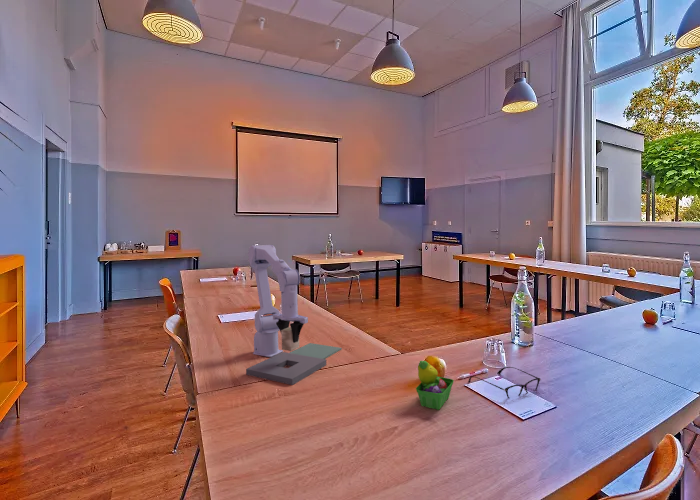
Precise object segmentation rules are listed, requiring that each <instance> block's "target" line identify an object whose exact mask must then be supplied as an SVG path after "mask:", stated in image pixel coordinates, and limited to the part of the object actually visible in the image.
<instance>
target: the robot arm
mask: <svg viewBox="0 0 700 500" xmlns="http://www.w3.org/2000/svg"><path fill="white" fill-rule="evenodd" d="M247 254H248V261H249V266H250V268H252V269H253V270H254V276H255V282H256V287H257V295H258V302H259V307H260V308H259V309H258V310H257V311H256V312H255V313H254V328H255V330H256V332H255V334H254V336H253V352H252V354H253V355H257V356H262V357H267V358H271V357H273V356H275V355H278V354H280V353H282V352H284V350H282V349H279V334H278V333H279V332H280V333H281V330H283V329H286V328H289V327H291V329H292V337H293V342H294V343H295V342H298V339H299V340H300V335H301V331H302V328H303V327H304V324H307V323H309V322H308V321H309V317H308V316H304V315H300V314H299V310H298V309H299V307H298V286H299V284H300V282H301V274H300V273H299V270H298V269H296V268H295V269H294V268H291V267H290V266H289V264H287V262H286V261H285V260H284V259H280V258H279V257H278V255H277V249H276V247H275V246H274V244H264V245H262V244H261V245H258V244H257V245H254V244H252V245H250V246H249V248H248V253H247ZM270 266H271V271H272V272H273V274H274V275H275V276H276V277H277V282H278V286H279V291H280V294H281V295H280V296H281V297H280V299H281V313H280V310H279V309H278V308H276V307H275V306H274V305H273V300H272V295H271V289H270V282H269V276H268V270H267V269H268V268H269V267H270ZM290 322H291V323H290Z"/></svg>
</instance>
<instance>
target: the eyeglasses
mask: <svg viewBox="0 0 700 500" xmlns="http://www.w3.org/2000/svg"><path fill="white" fill-rule="evenodd" d="M510 368H511V369H515V370H518V371H520V372H522V373H524V374H527V375H528V376H531V377H533V379H531V380H529V381H528V382H525V384H513V385H511V386H507V387H505V388H503V387H500V386H498V385H496V384H493V383H491V382H489V381H486V380H484V379H482V378H480V377H477V376H473V375H472V376H470V377H469V378H468V382H470V383H471V380H472V378H476V379H479V380H481V381H482V382H485V383H487V384H490V385H491V386H494V387H495V388H498V389H500V390H502V391H504V392H505V393H506V397H507V398H508V399H510V397H509V390H510V389H512V388H513V387H520V390H519V394H518V396H521V394H522V393H523V392H522V391H523V389H524V391H525V392H526V394H528V393H529V391H528V388H527V387H528V385H529V384H530V383H532V382H534V381H537V383H536V387H535V389H534V390H535V391H537V389H538V387H539V384H540V382H541V378H540V377H538V376H535V375H533V374H530V373H528V372H526V371H523V370H521V369H519V368H517V367H513V366H504V367H502V368H500V369H499V370H498V371H497V374H498V375H499V374H502V372H503V370H505V369H510Z"/></svg>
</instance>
